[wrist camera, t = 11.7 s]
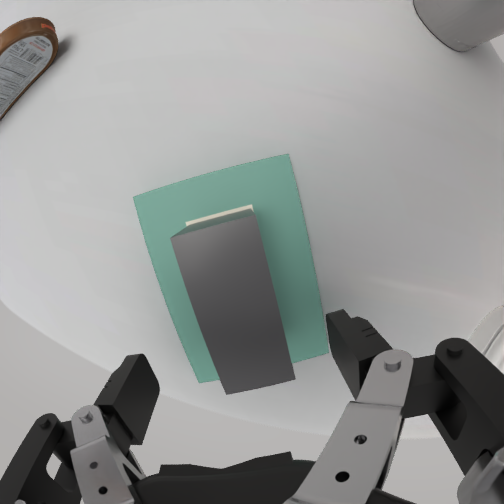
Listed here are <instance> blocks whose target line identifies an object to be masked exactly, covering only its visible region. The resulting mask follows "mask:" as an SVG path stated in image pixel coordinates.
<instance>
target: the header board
mask: <svg viewBox="0 0 504 504" xmlns="http://www.w3.org/2000/svg"><path fill="white" fill-rule="evenodd" d="M133 199H134V203H135V207H136V210H137V214H138V218H139V221H140V225H141V228H142V232H143V235H144V238H145V242H146V245H147V248H148V252H149V255H150V258H151V261H152V264H153V267H154V270H155V273H156V276H157V279H158V282H159V285H160V288H161V291H162V293H163V296H164V299H165V302H166V304H167V307H168V310H169V312H170V315H171V318H172V320H173V323H174V325H175V328H176V330H177V333H178V335H179V338H180V340H181V343H182V345H183V348H184V350H185V352H186V355H187V357H188V359H189V362H190V364H191V366H192V368H193V371H194V373H195V375H196V377H197V380H198V382H199V383H203V382H209V381H215V380H220V378H219V376H218V373H217V371H216V369H215V366H214V364H213V361H212V359H211V356H210V353H209V351H208V348H207V346H206V343H205V340H204V338H203V335H202V332H201V330H200V327H199V324H198V322H197V319H196V316H195V313H194V310H193V308H192V305H191V302H190V299H189V296H188V293H187V290H186V287H185V284H184V281H183V278H182V275H181V272H180V269H179V266H178V263H177V259H176V256H175V253H174V250H173V246H172V243H171V240H170V238H171V237H172V236H174V235H175V234H177V233H178V232H179V231H181V230H182V229H184V228H185V227H187V226H188V225H190V224H194V223H197V222H201V221H205V220H208V219H212V218H216V217H219V216H223V215H227V214H231V213H234V212H238V211H242V210H246V209H250V208H251V210H252V211H253V212H254V213H255V215H256V219H257V223H258V227H259V231H260V234H261V238H262V242H263V246H264V250H265V254H266V258H267V262H268V267H269V271H270V275H271V279H272V283H273V287H274V291H275V295H276V299H277V303H278V307H279V311H280V316H281V320H282V324H283V328H284V332H285V337H286V341H287V345H288V349H289V353H290V358H291V362H292V363H295V362H299V361H302V360H306V359H310V358H313V357H316V356H320V355H323V354H326V353H329V350H328V343H327V337H326V330H325V324H324V318H323V312H322V306H321V301H320V295H319V289H318V284H317V279H316V273H315V268H314V263H313V258H312V253H311V248H310V243H309V239H308V234H307V229H306V225H305V220H304V216H303V211H302V207H301V203H300V199H299V194H298V190H297V186H296V182H295V178H294V174H293V170H292V166H291V162H290V158H289V154H284V155H280V156H275V157H271V158H266V159H262V160H258V161H253V162H249V163H245V164H241V165H237V166H233V167H230V168H226V169H222V170H218V171H215V172H211V173H207V174H204V175H200V176H197V177H193V178H190V179H187V180H183V181H180V182H177V183H174V184H170V185H167V186H164V187H161V188H158V189H155V190H152V191H149V192H146V193H143V194H140V195H137V196H134V197H133Z"/></svg>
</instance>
